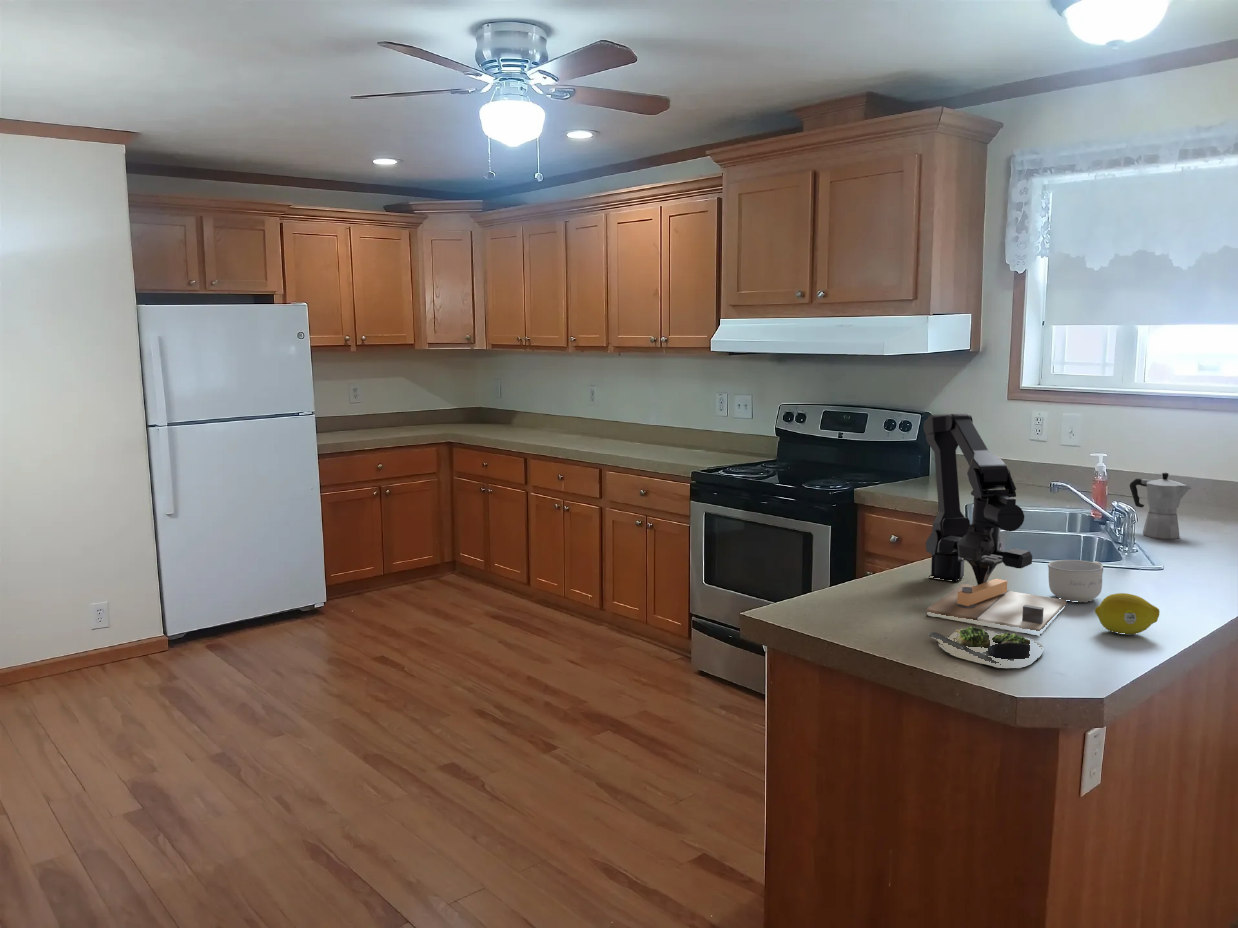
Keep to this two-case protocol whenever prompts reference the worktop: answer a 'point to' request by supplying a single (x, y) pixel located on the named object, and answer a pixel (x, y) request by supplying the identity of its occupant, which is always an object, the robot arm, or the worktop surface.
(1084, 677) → the worktop surface
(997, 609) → the door and jamb
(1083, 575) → the teacup
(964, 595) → the bar
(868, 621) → the worktop surface
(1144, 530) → the coffeepot
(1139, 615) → the lemon
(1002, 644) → the salad plate
